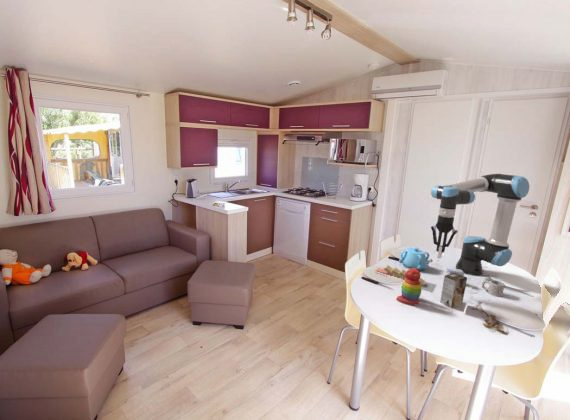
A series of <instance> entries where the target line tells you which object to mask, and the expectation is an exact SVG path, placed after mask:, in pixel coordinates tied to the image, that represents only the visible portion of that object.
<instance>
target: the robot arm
mask: <svg viewBox="0 0 570 420" xmlns="http://www.w3.org/2000/svg"><path fill="white" fill-rule="evenodd" d="M476 192H479V193H484V192H487V193H494V194H497V195H496V198H497V199H498V203H497V207H496V212H495V216H494V219H493V223H492V228H491V232H490V236H489V238H488V239H486V238H485V237H483V236H482V237H481V236H475V235H474V236H473V235H471V236H470V235H469V236H465V238H463V243H462V249H461V253H460V258H459V259H458V260H457V262H456V264H455V269H460V270H462V271H463V272H464V274H465V275H467V274H468V275H473V276H480V275H482V274H483V271H484V270H483V266H482V261H483V262H486V263H489V264H491V265H494V266H497V267H503V266H505V265H506V264H507V263H509V262H510V260H511V259H512V257H513V251H512V250H511V249H509V248H510V244H509V242H508V239H509V235H510V232H511V228H512V223H513V220H514V215H515V212H516V209H517V204H518V203H519V202H521V201H522V199H523V198H525V197H527V196H528V194H529V192H530V182H529V180H528V179H527V178H526V177H525V176H520V175H512V174H503V173H491V174H484V175H481V176H477V177H475V178H474V179H470V180H465V181H461V182H457V183H452V184H448V185H434V186H433V187H432V189H431V190H430V195H431V197H433V198H434V199H436V200H440V205H439V209H438V216H437V222H436V224H435V225H432V226H430V228H431V231H432V239H433V244H434V245H435V246H436V250H435V251H436V252H437V259H441V258H442V256H443V253H445V250H446V248H449V247H450V245H451V243H452V241H453V239H454V236H455V235H456V234H457V233H458V232H459V231H458V230H457V229H455V228H454V223H455V215H456V210H457V205H469V204H472V203H474V201H475V199H476V194H475V193H476ZM437 230H438V236H437ZM450 232H451V235H450V237H449V239H448V235H449V233H450ZM437 237H438V239H437ZM442 237H443V241H442ZM447 239H448V241H447ZM441 243H442V244H441Z"/></svg>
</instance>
